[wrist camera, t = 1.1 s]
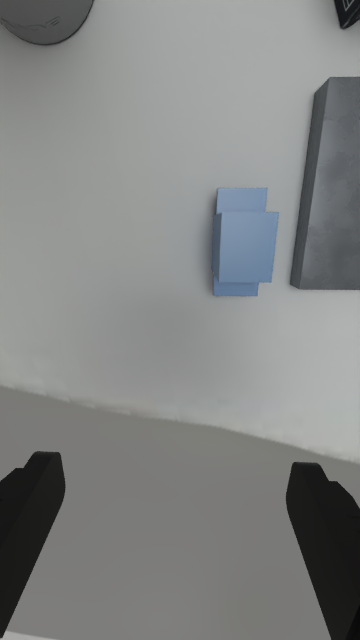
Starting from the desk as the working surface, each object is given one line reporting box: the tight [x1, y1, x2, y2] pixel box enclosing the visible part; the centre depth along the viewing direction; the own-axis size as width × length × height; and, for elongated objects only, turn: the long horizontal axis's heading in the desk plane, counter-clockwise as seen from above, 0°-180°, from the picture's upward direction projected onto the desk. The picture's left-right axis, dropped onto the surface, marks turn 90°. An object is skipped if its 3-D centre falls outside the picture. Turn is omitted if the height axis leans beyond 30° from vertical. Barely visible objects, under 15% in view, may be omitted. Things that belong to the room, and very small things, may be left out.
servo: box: [212, 188, 279, 296], centre depth 23 cm, size 9×4×7 cm, turn 0°
